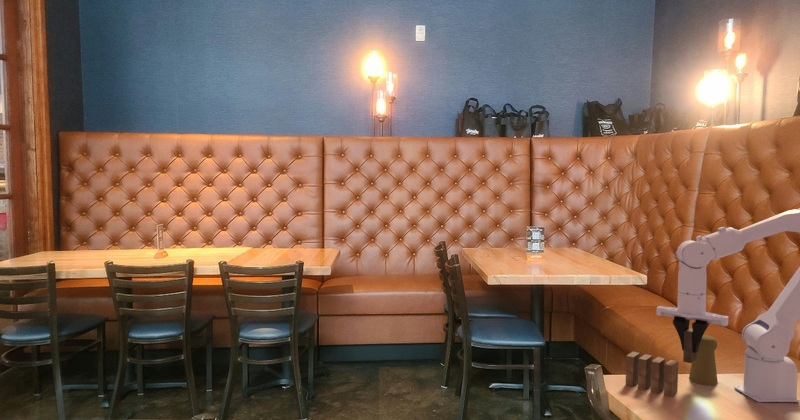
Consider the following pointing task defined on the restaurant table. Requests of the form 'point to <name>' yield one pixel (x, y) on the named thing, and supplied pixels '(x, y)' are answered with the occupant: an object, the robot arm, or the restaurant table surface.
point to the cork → (705, 363)
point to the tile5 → (632, 368)
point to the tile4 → (644, 372)
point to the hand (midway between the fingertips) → (690, 350)
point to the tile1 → (688, 347)
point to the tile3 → (657, 374)
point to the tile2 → (671, 378)
